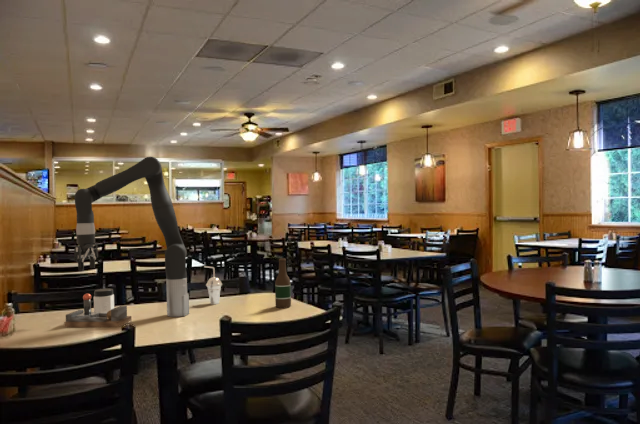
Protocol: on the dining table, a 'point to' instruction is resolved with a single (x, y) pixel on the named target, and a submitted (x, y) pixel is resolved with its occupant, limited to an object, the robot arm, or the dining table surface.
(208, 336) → the dining table surface
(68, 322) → the bench
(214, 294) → the cup with straw
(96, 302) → the jar
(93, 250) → the robot arm
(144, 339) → the dining table surface
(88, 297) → the red ball joystick
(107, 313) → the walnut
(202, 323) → the dining table surface
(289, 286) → the beer bottle
